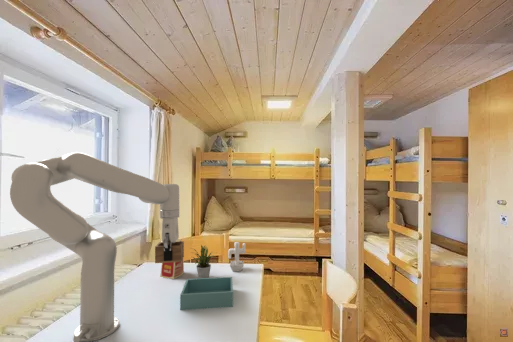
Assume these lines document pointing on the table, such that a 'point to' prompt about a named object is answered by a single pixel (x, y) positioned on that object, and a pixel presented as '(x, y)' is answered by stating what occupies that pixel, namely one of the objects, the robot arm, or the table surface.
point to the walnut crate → (176, 252)
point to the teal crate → (207, 293)
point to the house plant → (203, 263)
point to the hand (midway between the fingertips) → (170, 257)
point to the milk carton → (172, 268)
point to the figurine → (236, 256)
